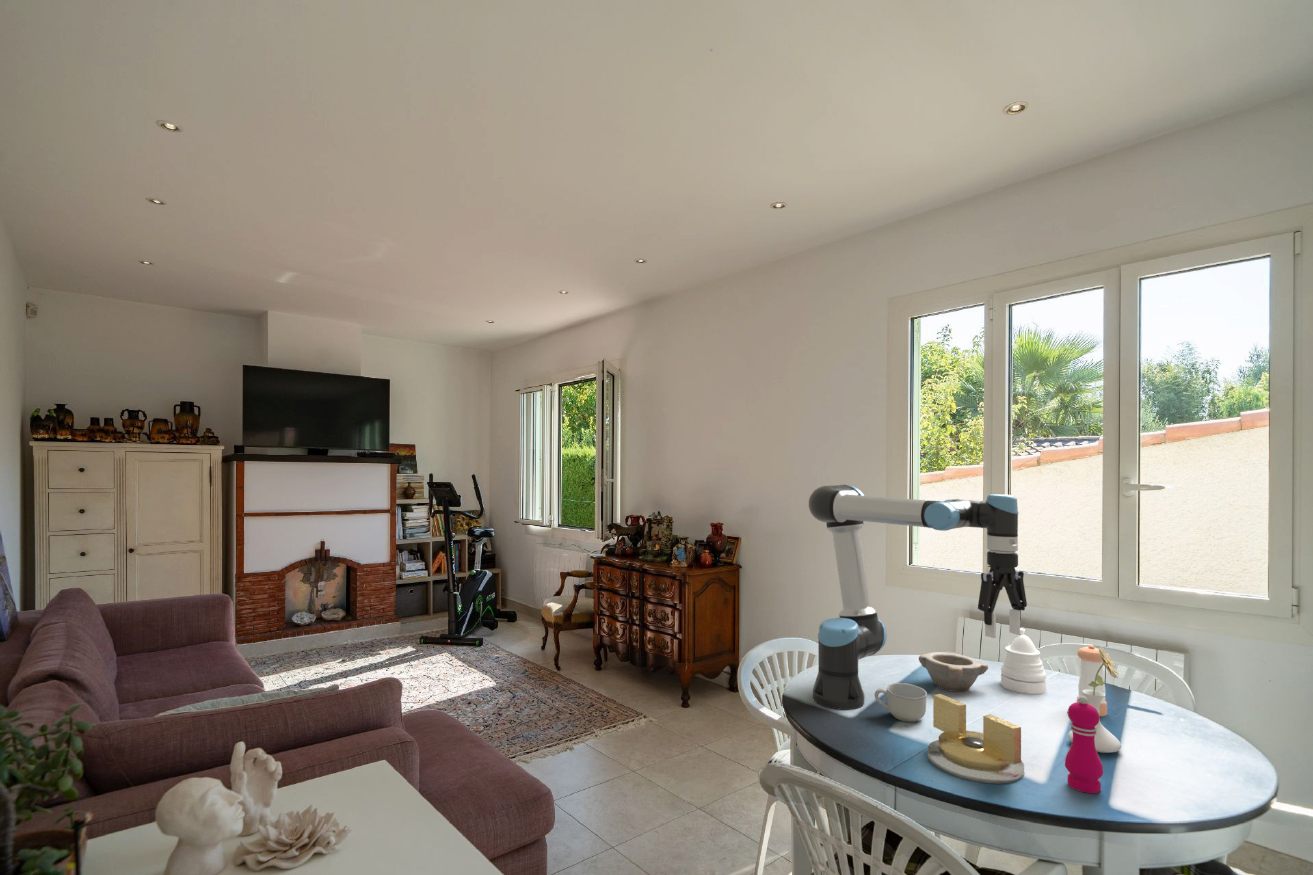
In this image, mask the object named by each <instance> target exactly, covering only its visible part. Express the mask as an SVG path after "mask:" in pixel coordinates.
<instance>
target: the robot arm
mask: <svg viewBox="0 0 1313 875" xmlns="http://www.w3.org/2000/svg"><path fill="white" fill-rule="evenodd" d="M1018 507H1019V506H1018V498H1017V497H1016V496H1015V495H1012V494H994V493H993V494H988V495H987V496H986V500H970V499H969V500H967V499H959V498H958V499H957V498H956V499H955V498H953V499H945V500H944V501H943V500H942V501H940V500H927V499H926V500H925V499H914V498H901V497H900V498H899V497H887V496H885V497H884V496H874V495H871V496H870V495H865V494H864V493H863V492H862V490H860V489H859V488H857V487H856V486H853V485H848V484H839V485H836V484H835V485H822V486H820V487H817V488H816V489H814V490H813V491H812V493H811V494H810V496H809V498H808V509H809V512H810V514H811V515H812V516H813V517H814V519H816V520H817V521H820V522H822V523H825V524H826V529H827V530H828V531H829V532H830V533H831V534H832V539H833V544H834V545H833V546H834V553H835V560H836V565H837V566H836V567H837V573H838V581H839V588H840V596H841V601H842V602H841V603H842V610H841V611H840V612H839V614H838V616H839V617H835V618H827V619H825V620H823V621H822V622H821V623H820V624H819V626H818V633H817V639H818V651H817V652H818V658H817V659H818V660H817V661H818V669H817V670H818V671H817V676H816V679H815V682H814V684H813V688H812V691H811V694H812V695H811V696H812V697H811V698H812V700H813V699H814V700H813V701H814V702H815V701H816V702H815V703H817V704H818V705H821V706H824V707H827V708H831V709H838V708H841V709H840V710H851V709H850V708H854V709H858V708H861V707H862V706H863V704H864V705H865V693H864V689H863V686H862V684H861V681H860V678H859V660H862V659H864V658H866V657H870V656H874V655H875V654H877V653H878V652H880V651H881V650H882V649H883V647H884V646H885V645H886V643H887V642H886V641H887V637H888V634H887V630H886V627H885V624H884V623H883V622H882V621H881V619H880V618H879V617H878V612H877V610H876V609H875V608H874V607H872V604H871V598H870V592H869V585H868V578H867V571H866V565H865V558H864V557H865V556H864V550H863V545H862V544H863V543H862V538H861V532H860V531H861V529H862V528H863V526H864V522H866V523H867V522H868V523H870V522H871V523H876V524H877V523H879V524H888V525H896V526H897V525H898V526H907V527H909V526H910V527H920V528H928V529H933V530H935V531H943V532H944V531H945V532H946V531H950V530H955V529H961V528H976V529H977V528H980V529H986V549H987V550H988V551H987V552H986V557H987V558H986V564H987V565H988V566H989V567H990V569H989V571H988V572H987V573H986V572H981V574H980V578H981V582H980V583H981V584H980V591H979V597H978V602H977V603H978V604H977V610H979V611H981V612H983V620H984V621H983V622H984V626H985V627H984V635H985V637H988V638H992V639H996V638H997V634H996V633H997V631H996V630H997V624H996V622H997V615H996V614H997V613H995V612H994V611H995V608H996V604H997V602H998V599H999V596H1000V592H1001V591H1002V590H1003V588H1005V592H1006V594H1007V597H1008V600H1009V603H1010V605H1011V608H1009V610H1008V611H1009V613H1008V614H1009V617H1008V618H1009V620H1008V621H1009V623H1008V624H1009V633H1010V634H1013V635H1018V636H1019V635H1020V628H1021V621H1022V611H1025V609H1026V608H1027V605H1028V602H1027V597H1026V589H1025V583H1024V576H1025V575H1024V574H1025V573H1024V571H1021V570H1016V568H1017V567H1018V566H1019V554H1018V553H1017V552H1018V550H1019V548H1018V547H1019V545H1018V544H1019V543H1018V542H1019V538H1018V536H1019V535H1018V534H1019V531H1018V530H1019V508H1018ZM860 706H861V707H860Z"/></svg>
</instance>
